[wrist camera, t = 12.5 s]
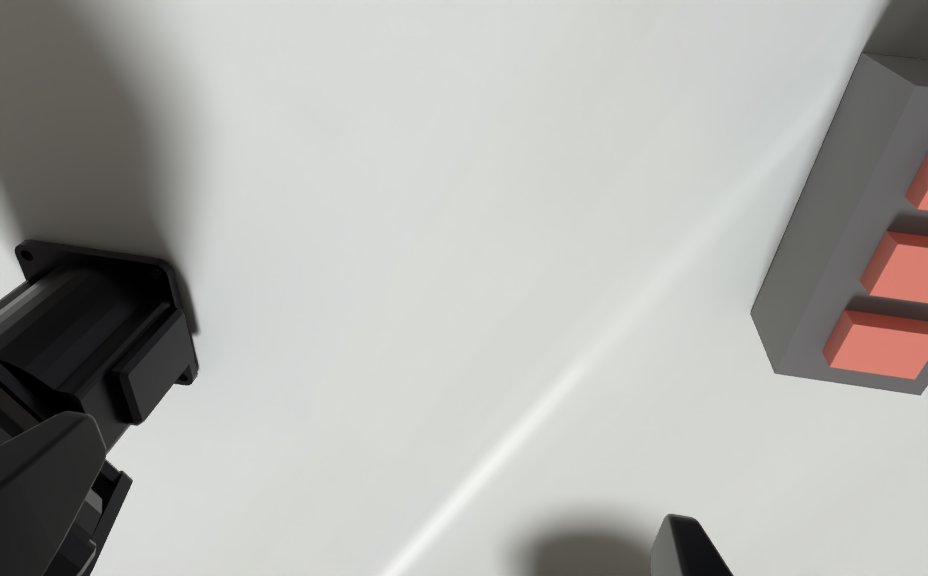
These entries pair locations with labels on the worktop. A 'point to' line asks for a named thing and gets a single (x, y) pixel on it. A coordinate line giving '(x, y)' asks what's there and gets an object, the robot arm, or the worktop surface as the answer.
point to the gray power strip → (859, 243)
